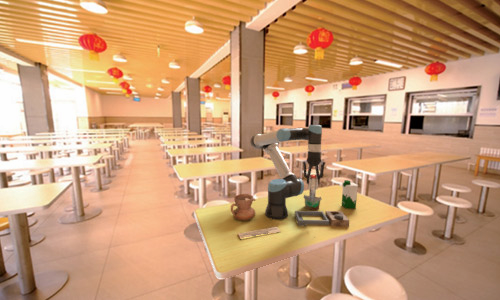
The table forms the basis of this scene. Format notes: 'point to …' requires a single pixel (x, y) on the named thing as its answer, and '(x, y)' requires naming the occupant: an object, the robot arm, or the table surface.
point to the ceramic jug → (243, 207)
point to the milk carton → (349, 195)
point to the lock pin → (312, 188)
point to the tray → (310, 222)
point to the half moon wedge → (312, 203)
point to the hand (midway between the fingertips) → (312, 188)
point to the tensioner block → (337, 218)
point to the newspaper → (259, 232)
